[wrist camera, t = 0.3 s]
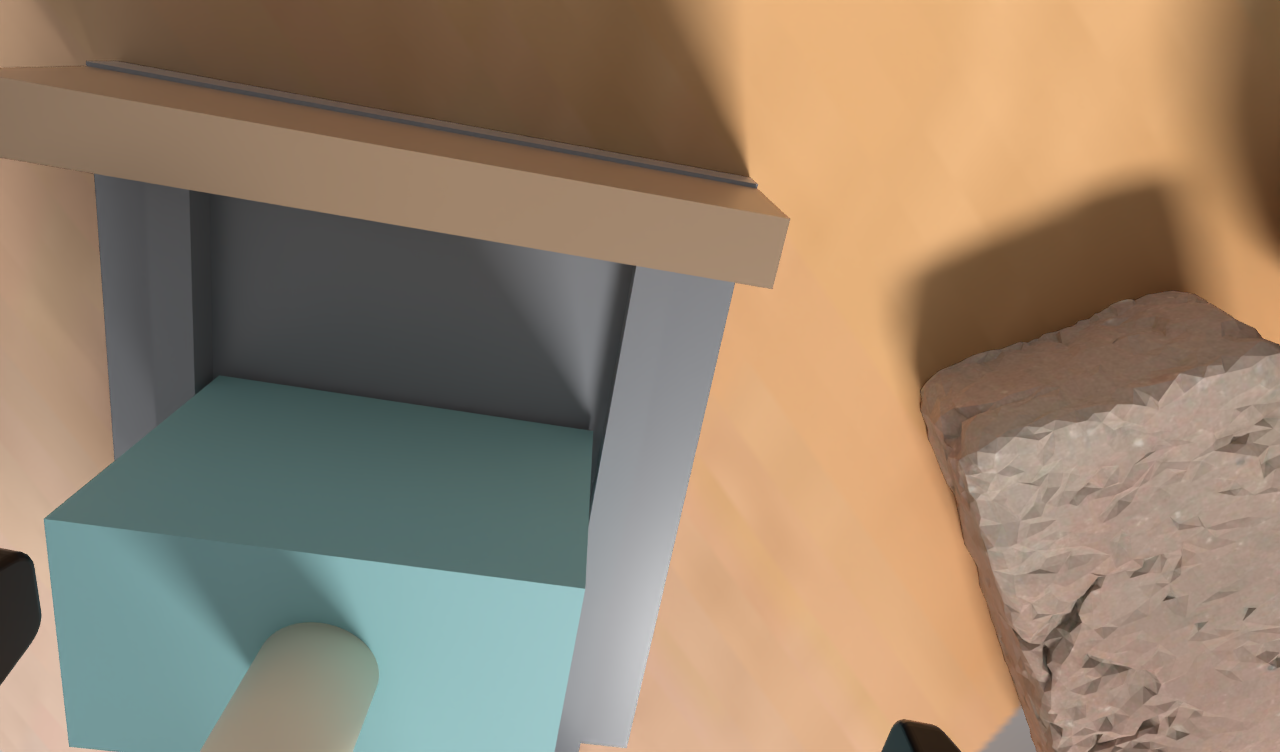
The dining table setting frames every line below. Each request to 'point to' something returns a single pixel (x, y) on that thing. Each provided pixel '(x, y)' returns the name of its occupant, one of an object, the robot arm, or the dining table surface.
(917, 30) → the dining table surface
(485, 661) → the dowel block
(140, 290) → the track
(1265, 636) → the brick
